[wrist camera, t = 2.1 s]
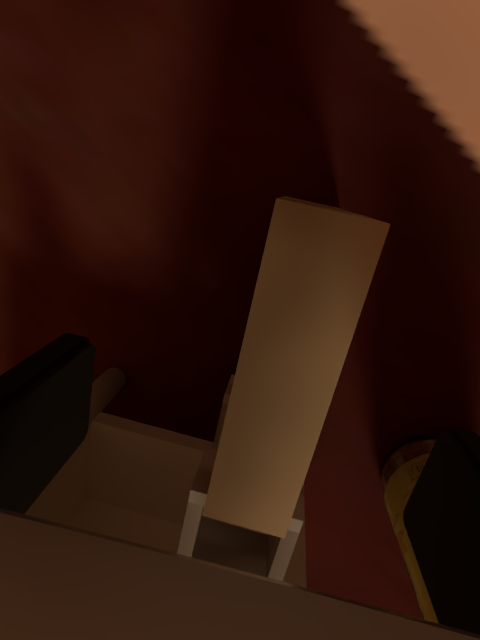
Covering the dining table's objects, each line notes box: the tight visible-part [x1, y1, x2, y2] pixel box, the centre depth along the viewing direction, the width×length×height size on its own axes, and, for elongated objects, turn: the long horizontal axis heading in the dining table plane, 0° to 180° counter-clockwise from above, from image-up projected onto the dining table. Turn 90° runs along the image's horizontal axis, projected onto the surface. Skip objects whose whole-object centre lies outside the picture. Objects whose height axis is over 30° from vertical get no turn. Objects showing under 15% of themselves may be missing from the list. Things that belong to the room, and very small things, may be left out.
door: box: [177, 196, 390, 581], centre depth 18 cm, size 4×15×12 cm, turn 168°
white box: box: [25, 367, 306, 588], centre depth 21 cm, size 16×12×14 cm
